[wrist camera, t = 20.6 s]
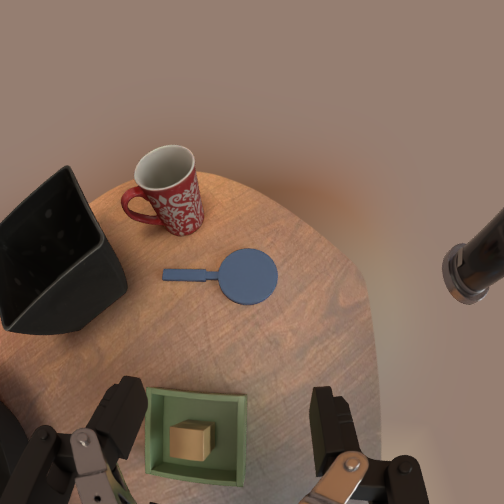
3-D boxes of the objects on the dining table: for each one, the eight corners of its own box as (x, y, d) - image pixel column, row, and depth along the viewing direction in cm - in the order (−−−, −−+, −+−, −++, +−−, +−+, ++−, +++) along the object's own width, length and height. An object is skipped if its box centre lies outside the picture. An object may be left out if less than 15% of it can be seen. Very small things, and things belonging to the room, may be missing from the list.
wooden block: (215, 421, 33) (203, 430, 26) (214, 447, 32) (203, 461, 24) (187, 419, 34) (169, 426, 26) (186, 444, 32) (169, 456, 25)
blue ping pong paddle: (276, 250, 45) (277, 248, 45) (277, 305, 41) (278, 303, 41) (167, 250, 46) (166, 248, 45) (160, 302, 42) (158, 300, 41)
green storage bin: (247, 394, 36) (244, 396, 31) (245, 474, 30) (242, 487, 25) (160, 387, 36) (146, 386, 31) (159, 464, 31) (145, 473, 26)
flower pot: (108, 218, 50) (66, 160, 35) (155, 290, 43) (106, 239, 28) (41, 276, 45) (-13, 236, 30) (75, 356, 38) (4, 334, 23)
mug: (198, 190, 52) (182, 136, 39) (218, 225, 48) (204, 171, 36) (137, 219, 49) (107, 172, 37) (151, 258, 46) (117, 214, 33)
